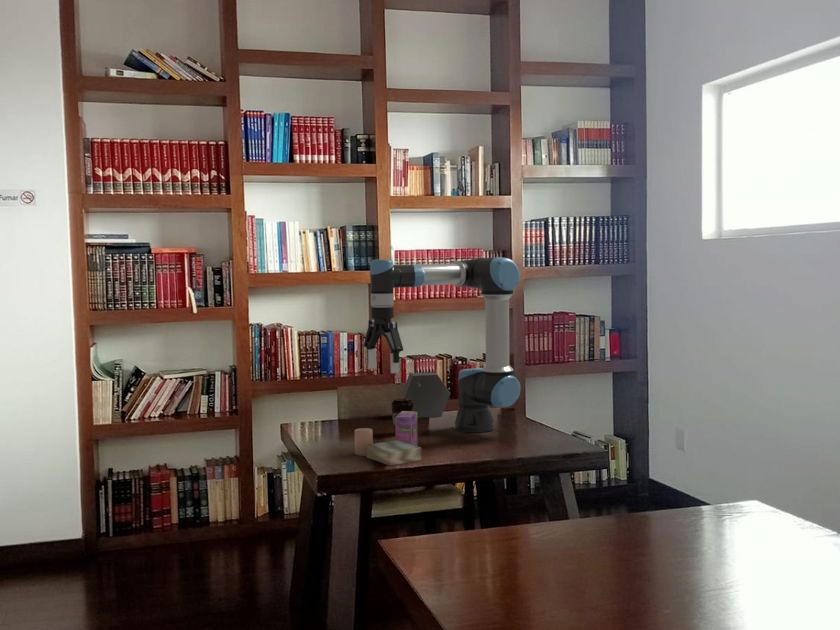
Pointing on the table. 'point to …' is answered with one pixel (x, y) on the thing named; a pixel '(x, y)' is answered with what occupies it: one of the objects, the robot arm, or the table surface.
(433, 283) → the robot arm
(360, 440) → the tan capsule cylinder
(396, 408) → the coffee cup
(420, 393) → the dark grey hexagonal block
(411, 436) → the box
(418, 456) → the mirror
